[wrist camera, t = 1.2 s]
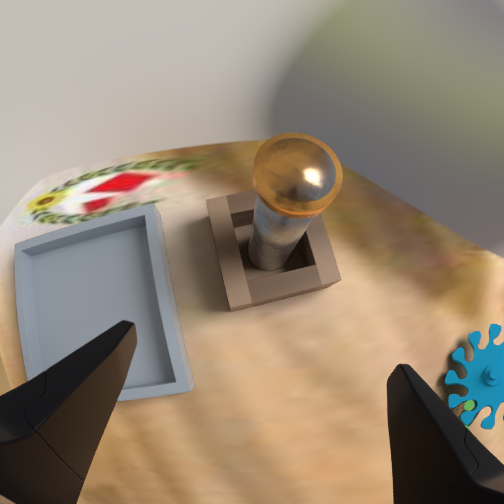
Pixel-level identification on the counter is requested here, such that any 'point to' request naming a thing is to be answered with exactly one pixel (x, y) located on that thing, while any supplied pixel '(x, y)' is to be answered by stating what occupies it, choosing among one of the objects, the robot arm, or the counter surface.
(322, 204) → the steel pin
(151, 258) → the tray
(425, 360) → the counter surface
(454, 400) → the gear
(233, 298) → the collar block
